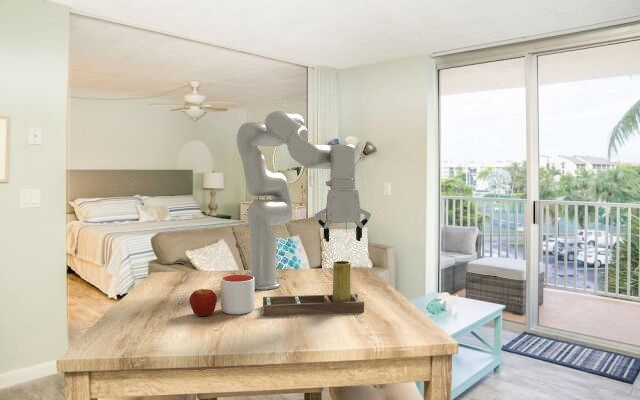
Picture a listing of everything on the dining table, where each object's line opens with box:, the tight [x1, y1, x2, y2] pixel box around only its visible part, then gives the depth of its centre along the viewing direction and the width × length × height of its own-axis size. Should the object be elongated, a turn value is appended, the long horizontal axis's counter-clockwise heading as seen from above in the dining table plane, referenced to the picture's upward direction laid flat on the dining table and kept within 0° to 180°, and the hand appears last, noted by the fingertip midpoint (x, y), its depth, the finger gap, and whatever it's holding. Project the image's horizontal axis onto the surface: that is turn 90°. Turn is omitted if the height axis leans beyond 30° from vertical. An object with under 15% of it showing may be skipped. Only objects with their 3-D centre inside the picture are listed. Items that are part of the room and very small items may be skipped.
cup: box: [220, 274, 256, 315], centre depth 141 cm, size 10×10×10 cm
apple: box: [189, 288, 218, 317], centre depth 137 cm, size 8×8×8 cm
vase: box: [332, 260, 352, 302], centre depth 144 cm, size 6×6×14 cm
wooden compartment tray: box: [262, 293, 365, 317], centre depth 143 cm, size 10×30×3 cm, turn 98°
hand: (342, 240), depth 143 cm, fingers open, 9 cm apart
